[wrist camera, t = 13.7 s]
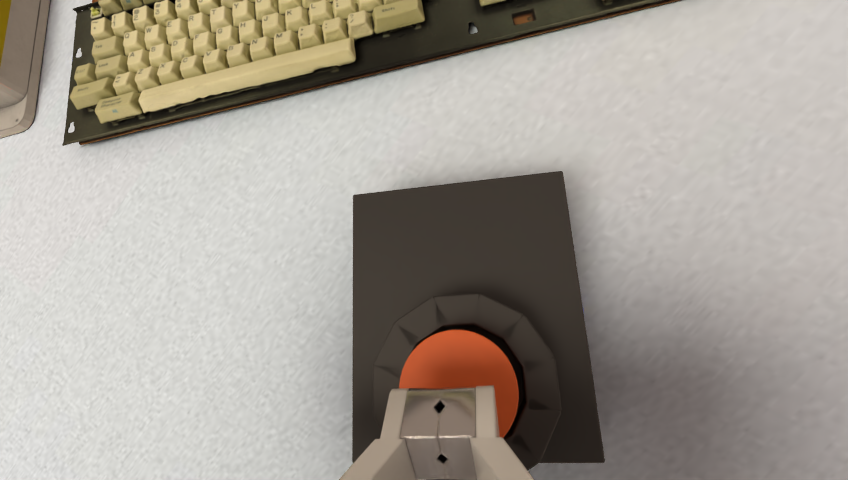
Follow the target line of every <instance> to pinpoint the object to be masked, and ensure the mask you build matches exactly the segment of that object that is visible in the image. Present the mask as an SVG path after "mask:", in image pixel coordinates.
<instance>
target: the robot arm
mask: <svg viewBox="0 0 848 480" xmlns="http://www.w3.org/2000/svg"><path fill="white" fill-rule="evenodd" d="M431 479H461V480H534V479H533V477H532V476H531V475H530V473H529V472H528V471H527V469H526V468H525V467H524V465H523V464H522V463H521V461H520V460H519V459H518V457H517V456H516V455H515V453H514V452H513V451H512V449H511V448H510V447H509V445H508V444H507V443H506V441H505V440H504V439H503V437H500V436H499V425H498V415H497V406H496V397H495V389H494V385H490V386H459V387H442V388H401V389H392V390H391V392H390V394H389V398H388V403H387V408H386V413H385V417H384V422H383V427H382V432H381V436H380V439H375V440H374V441H373V442H372V443H371V444H370V445H369V446H368V448H367V449H366V450H365V451H364V452H363V453H362V454H361V455H360V457H359V458H358V459H357V460H356V461H355V462H354V463H353V464H352V465H351V467H350V468H349V469H348V470H347V471H346V472H345V473H344V474H343V476H342V477H341V478H340V479H339V480H431Z"/></svg>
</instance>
